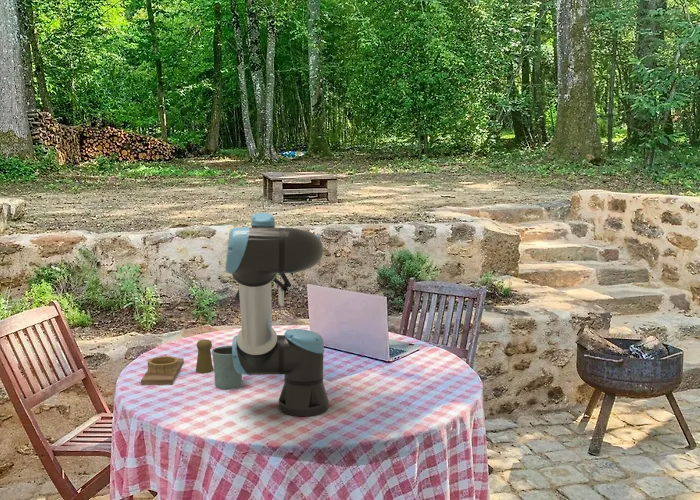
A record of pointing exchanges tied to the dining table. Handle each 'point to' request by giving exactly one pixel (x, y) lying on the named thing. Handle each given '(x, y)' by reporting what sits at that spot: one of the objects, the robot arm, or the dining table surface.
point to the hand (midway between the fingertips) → (264, 310)
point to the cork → (204, 357)
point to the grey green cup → (225, 369)
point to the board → (162, 370)
